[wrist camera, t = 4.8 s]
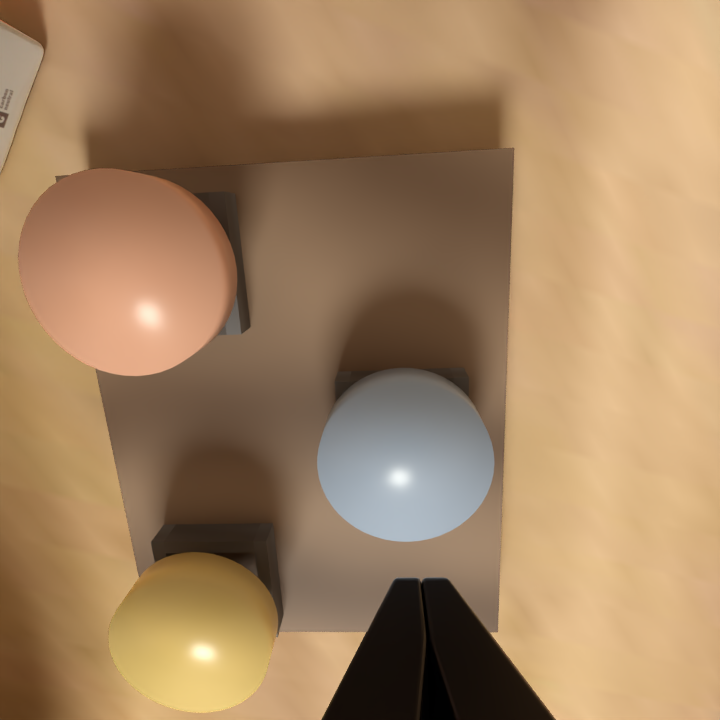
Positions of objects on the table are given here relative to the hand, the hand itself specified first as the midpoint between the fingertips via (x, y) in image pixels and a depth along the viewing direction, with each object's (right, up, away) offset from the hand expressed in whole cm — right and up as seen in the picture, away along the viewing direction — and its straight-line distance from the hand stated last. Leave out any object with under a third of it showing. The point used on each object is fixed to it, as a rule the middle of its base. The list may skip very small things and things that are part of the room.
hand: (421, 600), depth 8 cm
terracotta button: (-6, +6, +5) cm, 10 cm away
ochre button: (-6, -4, +8) cm, 10 cm away
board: (-3, +2, +8) cm, 9 cm away
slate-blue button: (0, +2, +7) cm, 7 cm away
